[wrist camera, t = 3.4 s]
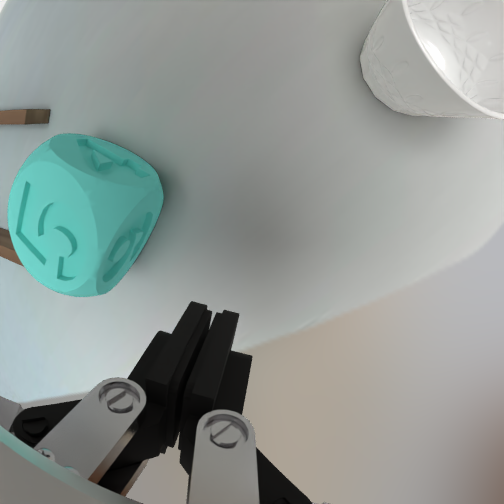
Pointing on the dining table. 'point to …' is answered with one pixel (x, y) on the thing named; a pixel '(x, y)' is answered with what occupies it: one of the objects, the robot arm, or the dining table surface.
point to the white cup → (438, 58)
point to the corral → (3, 244)
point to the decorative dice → (82, 213)
